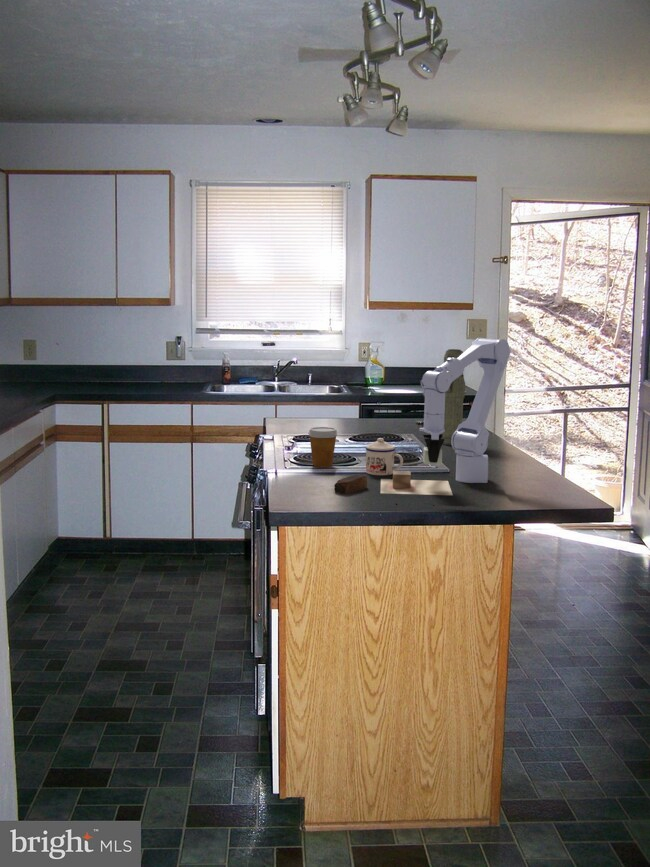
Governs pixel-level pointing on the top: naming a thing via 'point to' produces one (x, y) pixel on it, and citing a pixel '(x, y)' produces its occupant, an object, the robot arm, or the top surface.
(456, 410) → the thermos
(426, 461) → the sage block
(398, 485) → the walnut block
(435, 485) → the build board
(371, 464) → the teacup with lid
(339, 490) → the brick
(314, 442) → the disposable coffee cup
